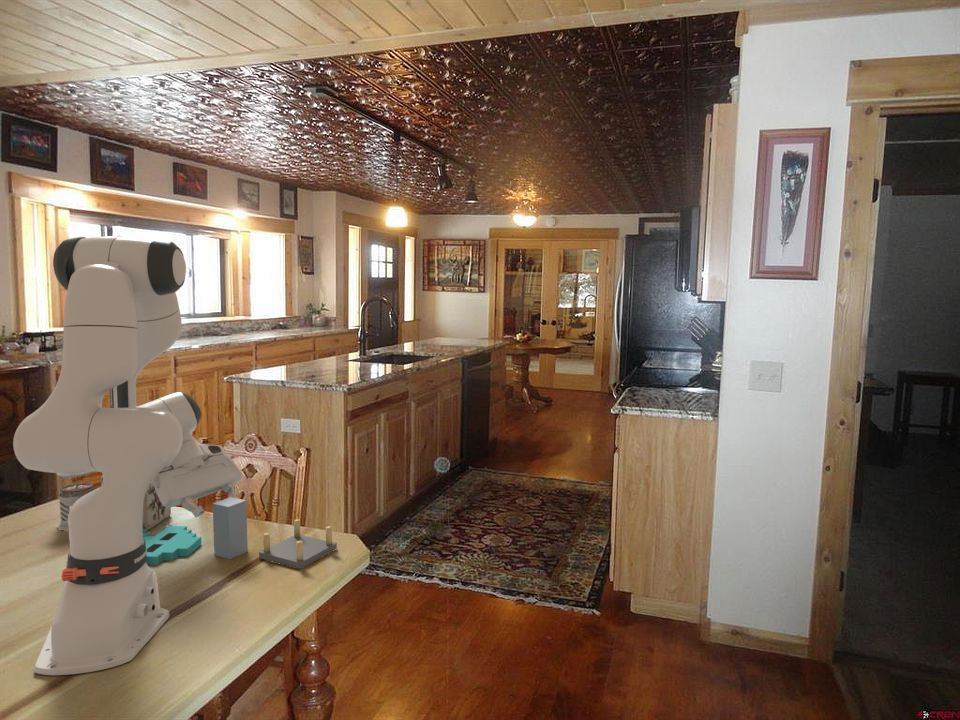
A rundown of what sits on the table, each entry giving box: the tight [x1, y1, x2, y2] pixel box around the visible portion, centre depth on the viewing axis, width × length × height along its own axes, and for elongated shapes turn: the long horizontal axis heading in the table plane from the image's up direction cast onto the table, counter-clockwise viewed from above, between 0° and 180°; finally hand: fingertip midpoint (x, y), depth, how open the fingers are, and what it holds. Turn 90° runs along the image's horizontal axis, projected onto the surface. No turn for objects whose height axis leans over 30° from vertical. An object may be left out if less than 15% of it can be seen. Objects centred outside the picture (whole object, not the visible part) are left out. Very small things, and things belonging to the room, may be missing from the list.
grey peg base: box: [258, 518, 338, 570], centre depth 142 cm, size 12×12×6 cm
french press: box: [56, 472, 95, 531], centre depth 159 cm, size 10×12×25 cm
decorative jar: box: [100, 467, 172, 532], centre depth 159 cm, size 12×12×18 cm
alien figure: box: [142, 525, 202, 565], centre depth 144 cm, size 20×2×20 cm
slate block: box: [211, 497, 249, 560], centre depth 142 cm, size 5×5×12 cm
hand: (217, 508), depth 143 cm, fingers open, 8 cm apart
